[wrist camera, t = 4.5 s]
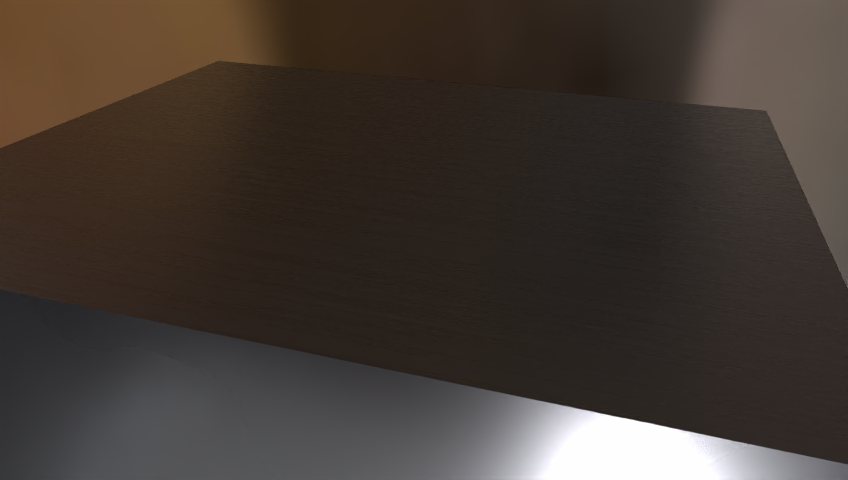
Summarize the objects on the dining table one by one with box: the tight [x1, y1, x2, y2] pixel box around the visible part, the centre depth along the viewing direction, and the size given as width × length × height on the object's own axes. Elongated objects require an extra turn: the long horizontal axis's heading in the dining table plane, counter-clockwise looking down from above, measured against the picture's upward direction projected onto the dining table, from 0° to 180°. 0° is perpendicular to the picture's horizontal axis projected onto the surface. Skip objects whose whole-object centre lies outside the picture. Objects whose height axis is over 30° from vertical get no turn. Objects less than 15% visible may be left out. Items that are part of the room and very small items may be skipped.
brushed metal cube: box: [0, 61, 848, 480], centre depth 7 cm, size 6×6×5 cm
